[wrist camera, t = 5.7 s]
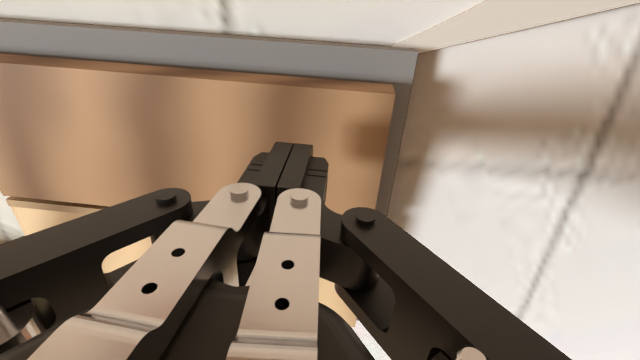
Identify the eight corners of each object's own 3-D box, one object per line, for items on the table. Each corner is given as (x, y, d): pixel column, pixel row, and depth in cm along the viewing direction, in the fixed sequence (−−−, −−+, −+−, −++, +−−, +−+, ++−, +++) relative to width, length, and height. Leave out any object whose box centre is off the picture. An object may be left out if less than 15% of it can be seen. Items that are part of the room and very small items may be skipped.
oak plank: (369, 220, 20) (370, 237, 19) (354, 309, 24) (354, 327, 23) (28, 186, 21) (5, 199, 20) (68, 275, 25) (51, 291, 24)
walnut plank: (392, 84, 16) (395, 94, 14) (369, 216, 20) (370, 233, 19) (-45, 49, 17) (-78, 56, 15) (24, 181, 21) (3, 195, 20)
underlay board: (414, 48, 16) (418, 51, 15) (366, 308, 26) (366, 321, 25) (-42, 15, 18) (-67, 16, 17) (72, 274, 27) (60, 285, 26)
